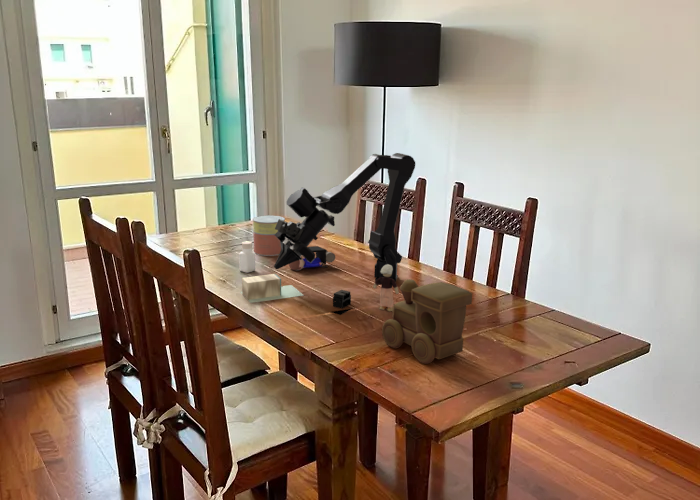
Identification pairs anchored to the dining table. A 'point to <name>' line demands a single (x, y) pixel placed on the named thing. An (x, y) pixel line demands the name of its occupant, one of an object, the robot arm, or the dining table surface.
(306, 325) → the dining table surface
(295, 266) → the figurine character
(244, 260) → the pepper shaker
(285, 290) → the mat
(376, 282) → the grandmother figurine
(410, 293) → the wooden toy train
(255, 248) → the canned food
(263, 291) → the maple block
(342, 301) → the black boxy device
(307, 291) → the dining table surface
